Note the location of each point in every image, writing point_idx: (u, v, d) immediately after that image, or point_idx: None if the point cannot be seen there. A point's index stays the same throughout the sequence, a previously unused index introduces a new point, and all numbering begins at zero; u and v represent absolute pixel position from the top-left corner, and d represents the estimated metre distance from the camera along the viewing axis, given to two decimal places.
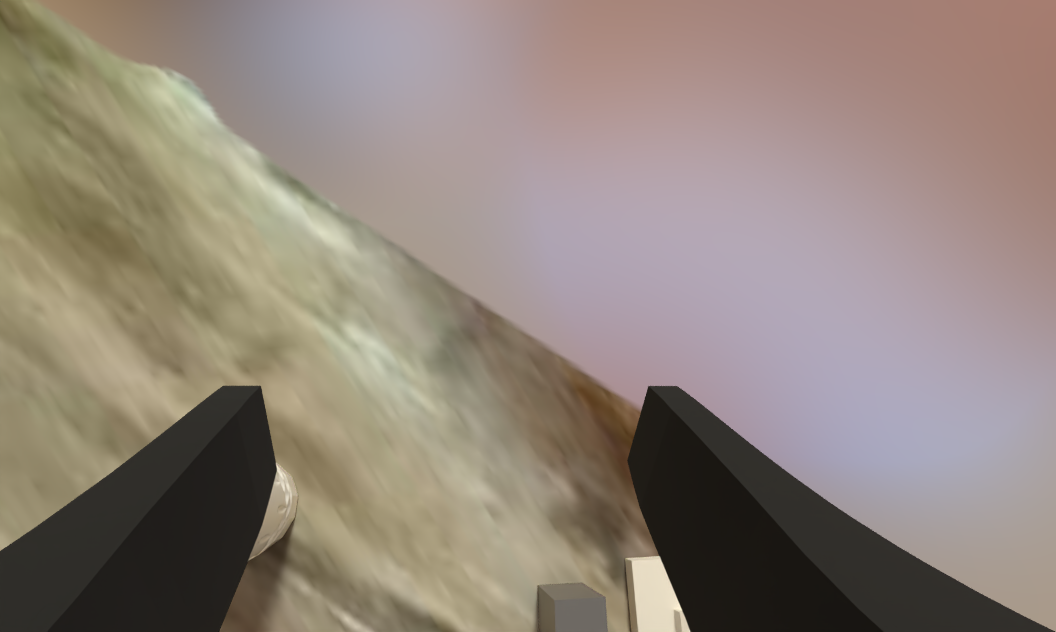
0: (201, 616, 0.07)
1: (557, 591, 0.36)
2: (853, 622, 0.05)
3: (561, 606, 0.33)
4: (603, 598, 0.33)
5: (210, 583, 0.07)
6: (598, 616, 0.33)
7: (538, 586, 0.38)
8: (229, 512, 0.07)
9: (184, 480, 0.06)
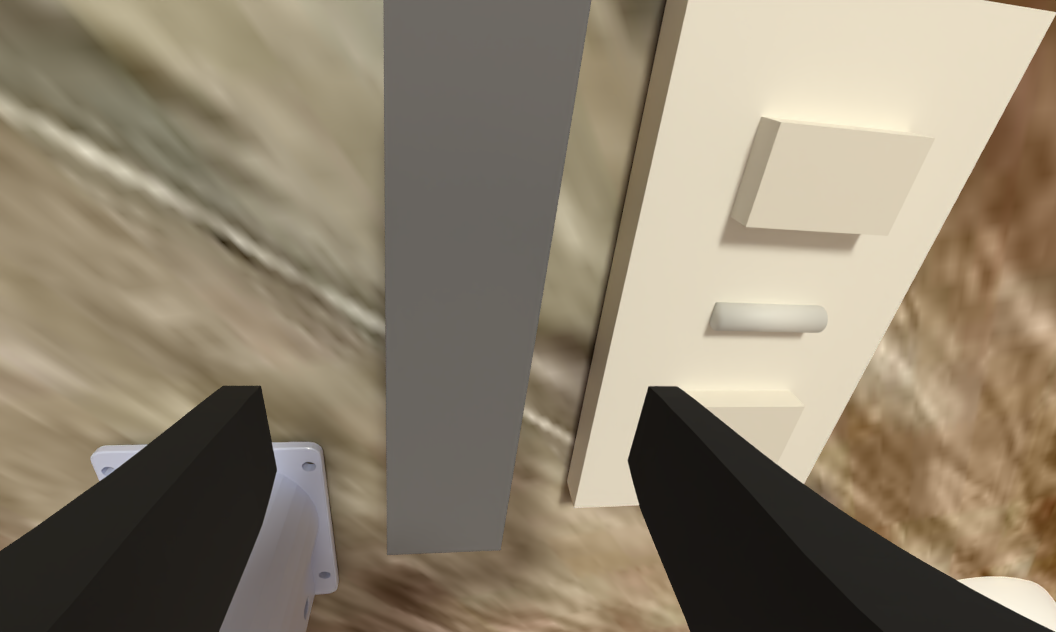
0: (201, 616, 0.07)
1: None
2: (852, 621, 0.05)
3: None
4: (583, 2, 0.09)
5: (210, 583, 0.07)
6: (551, 63, 0.09)
7: None
8: (229, 512, 0.07)
9: (184, 480, 0.06)
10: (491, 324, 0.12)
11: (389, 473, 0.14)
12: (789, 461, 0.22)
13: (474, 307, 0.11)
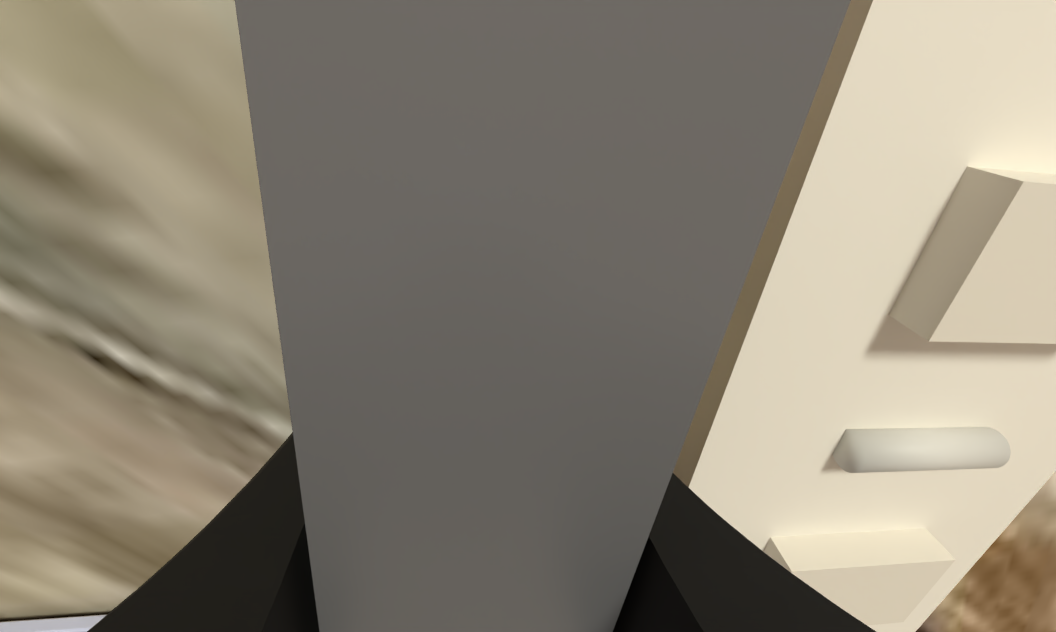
0: None
1: None
2: None
3: None
4: None
5: None
6: (731, 102, 0.03)
7: None
8: None
9: None
10: (534, 607, 0.06)
11: None
12: None
13: (502, 585, 0.06)
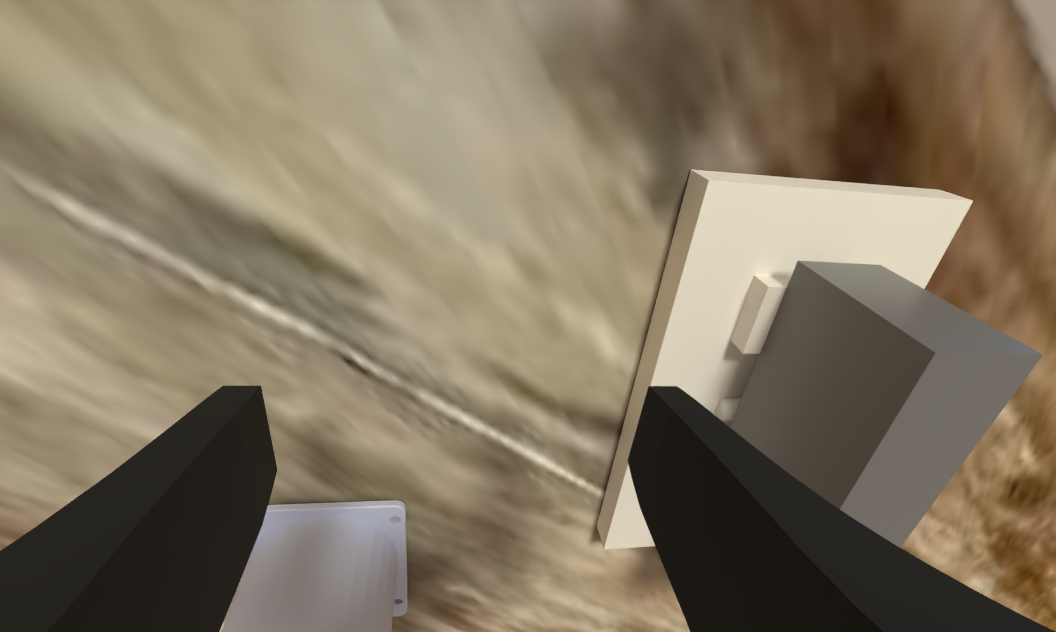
0: (201, 616, 0.07)
1: (882, 301, 0.16)
2: (852, 622, 0.05)
3: (942, 365, 0.13)
4: (1038, 357, 0.14)
5: (210, 583, 0.07)
6: (1003, 385, 0.14)
7: (805, 267, 0.18)
8: (229, 512, 0.07)
9: (184, 480, 0.06)
10: (894, 518, 0.17)
11: None
12: None
13: (888, 509, 0.16)
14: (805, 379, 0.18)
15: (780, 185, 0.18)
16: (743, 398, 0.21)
